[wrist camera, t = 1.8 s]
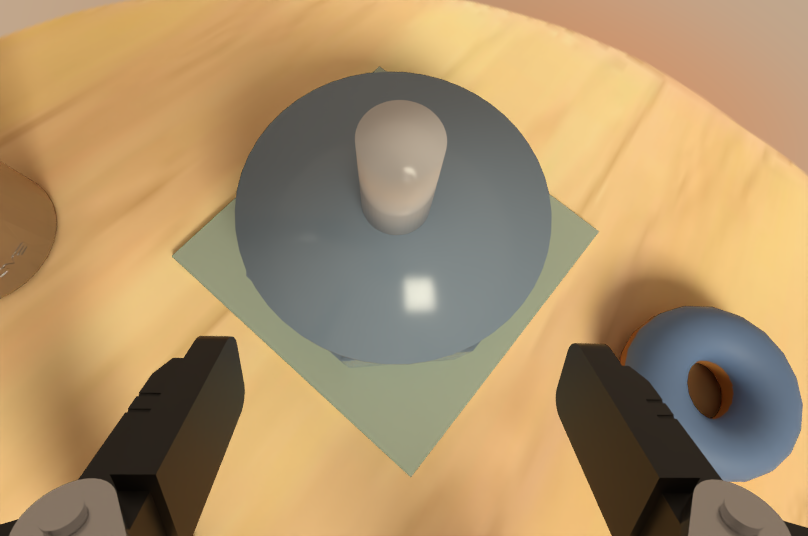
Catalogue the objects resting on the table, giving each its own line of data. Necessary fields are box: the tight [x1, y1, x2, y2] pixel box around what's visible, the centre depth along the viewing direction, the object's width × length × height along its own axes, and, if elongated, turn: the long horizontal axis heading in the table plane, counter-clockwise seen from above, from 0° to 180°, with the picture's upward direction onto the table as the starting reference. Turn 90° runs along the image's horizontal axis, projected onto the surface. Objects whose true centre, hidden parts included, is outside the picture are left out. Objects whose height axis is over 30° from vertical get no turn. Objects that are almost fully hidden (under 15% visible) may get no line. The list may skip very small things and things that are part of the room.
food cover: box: [235, 72, 552, 368], centre depth 22 cm, size 16×16×12 cm
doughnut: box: [620, 306, 803, 482], centre depth 25 cm, size 10×10×5 cm
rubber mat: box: [172, 66, 599, 477], centre depth 28 cm, size 20×20×1 cm
